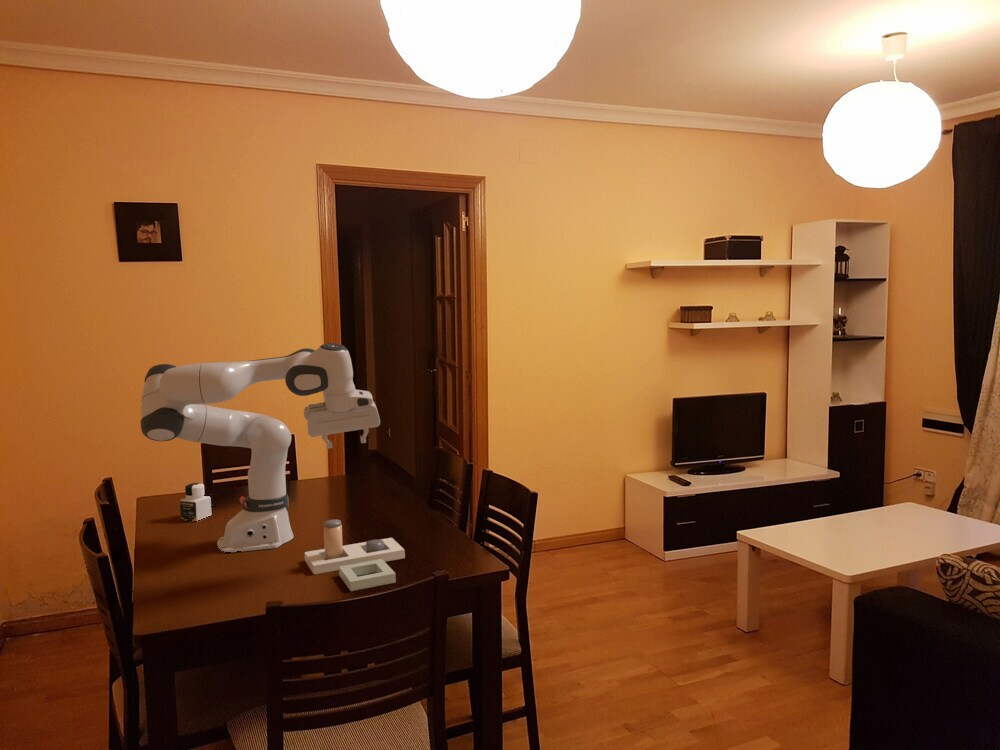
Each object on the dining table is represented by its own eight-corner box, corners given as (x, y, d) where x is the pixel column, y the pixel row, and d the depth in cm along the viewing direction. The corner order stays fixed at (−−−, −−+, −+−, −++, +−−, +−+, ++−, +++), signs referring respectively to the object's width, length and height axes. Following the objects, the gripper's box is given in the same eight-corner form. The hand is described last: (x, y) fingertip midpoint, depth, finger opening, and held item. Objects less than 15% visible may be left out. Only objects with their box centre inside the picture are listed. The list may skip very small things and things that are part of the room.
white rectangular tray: (313, 574, 195) (313, 560, 195) (304, 560, 206) (304, 547, 206) (405, 558, 207) (404, 544, 206) (392, 545, 217) (391, 532, 217)
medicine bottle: (180, 520, 247) (178, 485, 245) (196, 514, 253) (194, 480, 252) (196, 522, 244) (194, 487, 243) (212, 516, 250) (210, 482, 249)
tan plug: (327, 567, 200) (325, 525, 199) (323, 561, 205) (321, 520, 204) (345, 564, 203) (343, 523, 201) (340, 558, 207) (339, 518, 206)
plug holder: (350, 591, 184) (350, 581, 183) (339, 575, 194) (338, 566, 194) (395, 582, 189) (395, 573, 189) (382, 567, 200) (381, 558, 199)
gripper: (302, 409, 196) (310, 455, 201) (377, 398, 201) (383, 443, 205) (302, 401, 202) (309, 446, 206) (375, 391, 207) (380, 435, 211)
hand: (347, 445), depth 206 cm, fingers open, 8 cm apart
